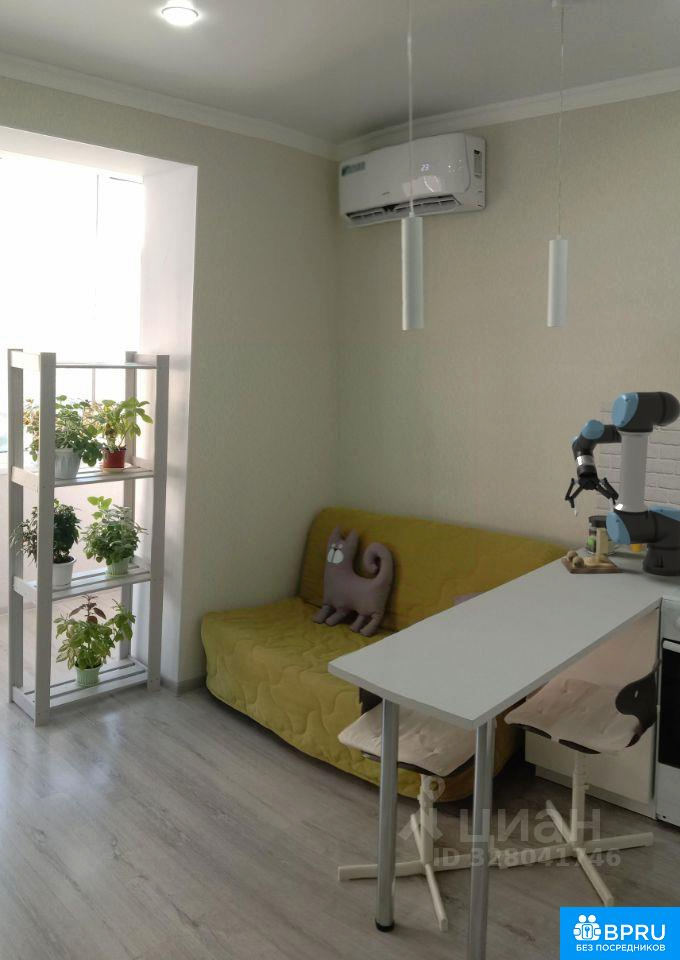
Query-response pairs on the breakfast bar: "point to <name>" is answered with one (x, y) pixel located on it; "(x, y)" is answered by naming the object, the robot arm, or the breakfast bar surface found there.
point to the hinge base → (587, 564)
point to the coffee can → (595, 523)
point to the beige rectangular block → (602, 546)
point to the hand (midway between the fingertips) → (595, 514)
